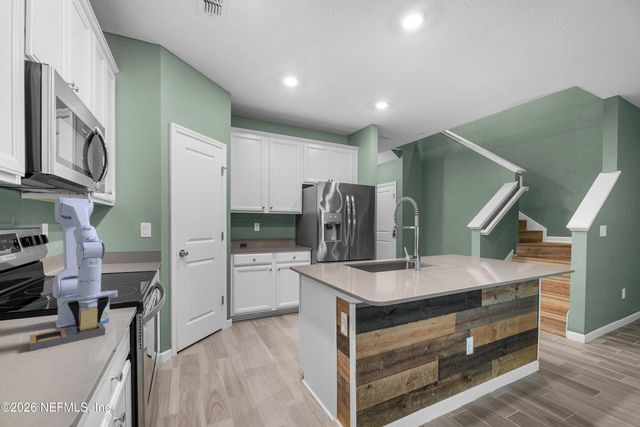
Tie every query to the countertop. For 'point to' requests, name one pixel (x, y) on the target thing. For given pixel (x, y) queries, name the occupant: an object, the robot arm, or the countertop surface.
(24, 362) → the countertop surface
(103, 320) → the medicine box
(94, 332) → the rail
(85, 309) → the peg
